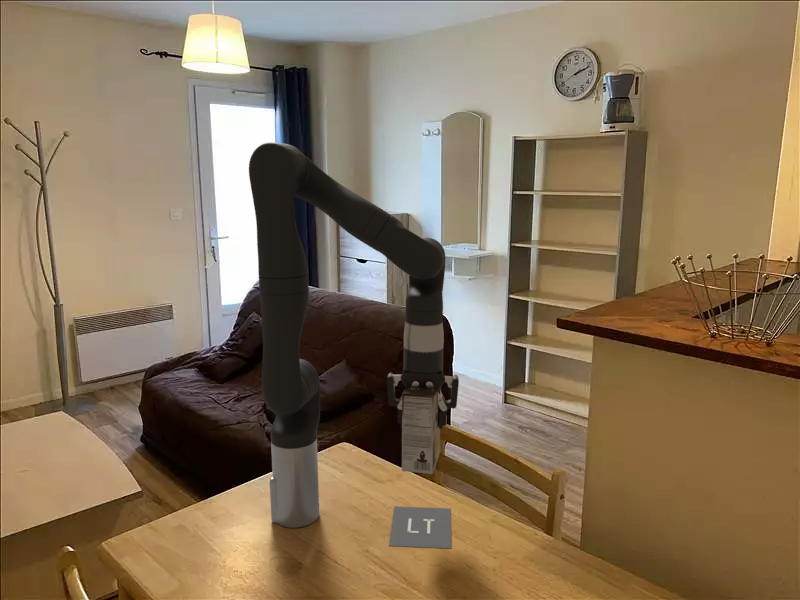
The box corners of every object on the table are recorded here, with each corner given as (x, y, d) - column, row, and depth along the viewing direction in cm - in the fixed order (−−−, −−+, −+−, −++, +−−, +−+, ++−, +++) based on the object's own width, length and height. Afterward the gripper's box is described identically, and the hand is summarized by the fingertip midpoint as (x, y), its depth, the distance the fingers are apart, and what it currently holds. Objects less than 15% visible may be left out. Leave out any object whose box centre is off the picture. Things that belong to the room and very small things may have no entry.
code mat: (388, 547, 118) (388, 545, 118) (394, 507, 132) (394, 506, 131) (451, 549, 117) (451, 548, 117) (450, 509, 131) (450, 508, 131)
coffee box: (409, 450, 126) (410, 376, 123) (440, 453, 125) (442, 378, 122) (400, 471, 118) (401, 392, 114) (433, 475, 116) (435, 395, 113)
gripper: (383, 349, 113) (383, 433, 116) (462, 351, 112) (459, 436, 116) (387, 338, 120) (387, 417, 124) (461, 340, 119) (458, 420, 123)
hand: (422, 426), depth 120 cm, fingers closed on coffee box, 7 cm apart
